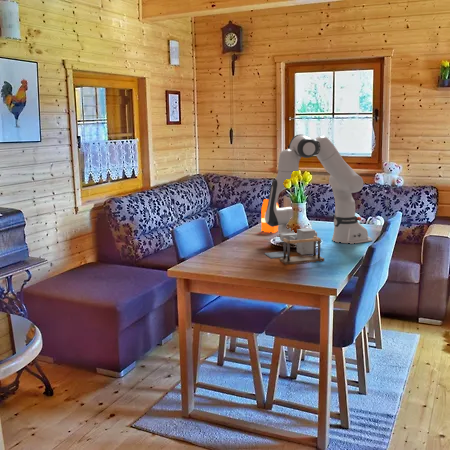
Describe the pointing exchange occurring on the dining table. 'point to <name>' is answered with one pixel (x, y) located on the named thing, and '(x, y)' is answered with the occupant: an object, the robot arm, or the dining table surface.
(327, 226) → the dining table surface
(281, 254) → the mat
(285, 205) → the candle
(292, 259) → the brown board
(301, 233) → the supplement box
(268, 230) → the orange juice
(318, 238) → the wooden post stand
